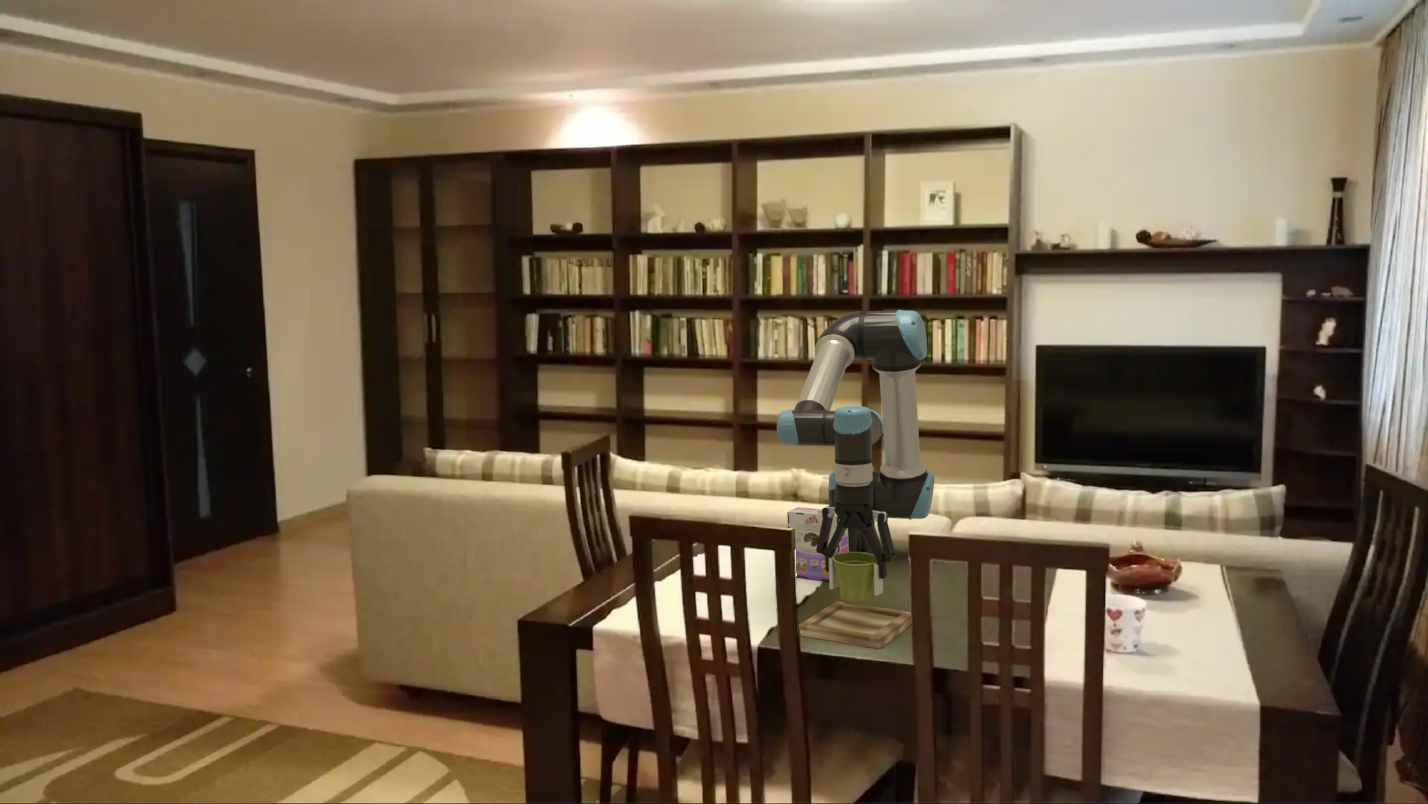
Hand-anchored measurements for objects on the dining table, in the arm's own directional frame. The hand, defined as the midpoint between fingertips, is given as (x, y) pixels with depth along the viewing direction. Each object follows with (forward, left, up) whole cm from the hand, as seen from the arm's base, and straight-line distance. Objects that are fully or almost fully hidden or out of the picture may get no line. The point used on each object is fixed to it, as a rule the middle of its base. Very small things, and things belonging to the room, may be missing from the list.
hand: (856, 590), depth 217 cm
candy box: (-30, -24, -8) cm, 39 cm away
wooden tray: (0, 0, -8) cm, 8 cm away
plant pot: (0, 0, -2) cm, 2 cm away
